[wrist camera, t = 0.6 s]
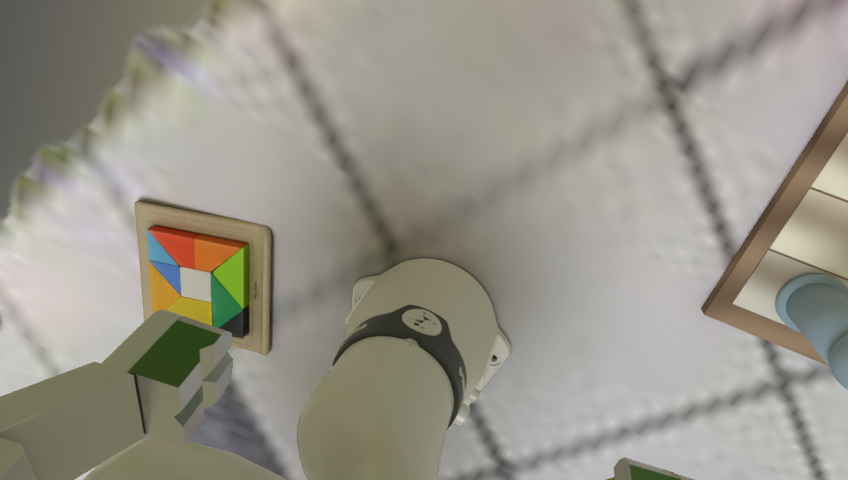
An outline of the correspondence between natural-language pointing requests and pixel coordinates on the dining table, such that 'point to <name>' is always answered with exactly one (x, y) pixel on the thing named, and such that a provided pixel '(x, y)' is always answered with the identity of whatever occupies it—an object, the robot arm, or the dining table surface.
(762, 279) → the game track
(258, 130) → the dining table surface
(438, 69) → the dining table surface
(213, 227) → the wooden puzzle
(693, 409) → the dining table surface
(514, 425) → the dining table surface
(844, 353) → the pawn
